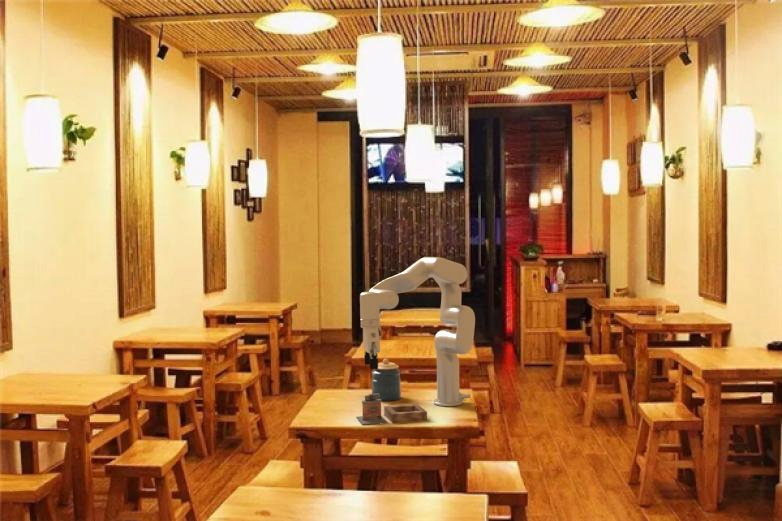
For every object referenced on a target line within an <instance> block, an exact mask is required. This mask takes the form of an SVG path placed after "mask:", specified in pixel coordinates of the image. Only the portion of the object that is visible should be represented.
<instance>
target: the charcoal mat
mask: <svg viewBox="0 0 782 521" xmlns="http://www.w3.org/2000/svg"><path fill="white" fill-rule="evenodd" d="M362 417H363V415H362V416H360V415H359V416H356V417H355V419H356V418H357V419H358V420H357V421H358V422H359V423H360V424H361V425H362V426H365V425H364V424H373V425H381V424H380V423H387V424H388V421H387V420H386V419H385V418H384V417H383V416H382V419H378V420H370V421H363V420H362Z"/></svg>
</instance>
